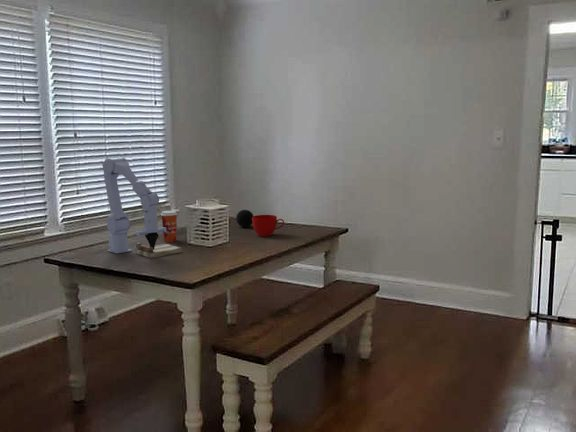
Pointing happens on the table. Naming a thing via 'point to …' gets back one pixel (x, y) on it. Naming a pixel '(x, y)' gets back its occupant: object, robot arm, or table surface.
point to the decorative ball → (244, 218)
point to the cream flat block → (160, 251)
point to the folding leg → (144, 247)
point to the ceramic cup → (265, 224)
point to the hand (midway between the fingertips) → (152, 249)
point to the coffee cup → (169, 225)
